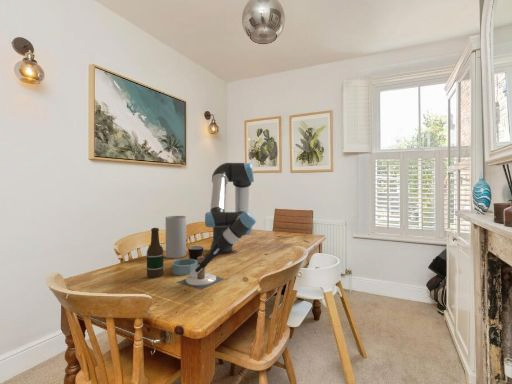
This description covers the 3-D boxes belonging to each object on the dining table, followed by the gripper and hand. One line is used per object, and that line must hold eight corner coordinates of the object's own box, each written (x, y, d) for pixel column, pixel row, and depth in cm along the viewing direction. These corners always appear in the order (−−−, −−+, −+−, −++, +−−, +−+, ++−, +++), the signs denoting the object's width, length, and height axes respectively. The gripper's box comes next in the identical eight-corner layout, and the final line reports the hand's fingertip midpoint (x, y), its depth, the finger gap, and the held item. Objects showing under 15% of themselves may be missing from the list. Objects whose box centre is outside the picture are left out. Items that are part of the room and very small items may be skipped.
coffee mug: (200, 267, 149) (200, 249, 149) (185, 266, 151) (185, 249, 151) (208, 262, 161) (207, 245, 160) (194, 261, 162) (194, 244, 162)
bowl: (185, 266, 151) (185, 257, 151) (202, 270, 145) (202, 261, 145) (167, 272, 141) (167, 263, 140) (184, 277, 134) (184, 267, 134)
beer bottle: (146, 275, 137) (146, 227, 137) (162, 273, 140) (162, 226, 140) (147, 280, 130) (146, 229, 130) (164, 277, 133) (163, 228, 133)
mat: (200, 273, 140) (200, 272, 140) (225, 279, 131) (225, 278, 131) (176, 283, 126) (176, 282, 126) (201, 290, 118) (201, 289, 118)
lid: (200, 273, 138) (200, 252, 138) (222, 279, 131) (222, 256, 130) (179, 282, 126) (179, 258, 126) (201, 288, 119) (201, 263, 119)
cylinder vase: (174, 252, 182) (174, 215, 181) (190, 254, 177) (190, 216, 176) (161, 257, 170) (161, 217, 169) (177, 259, 165) (177, 218, 165)
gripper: (230, 250, 117) (193, 286, 118) (236, 240, 138) (204, 271, 139) (218, 237, 117) (181, 274, 118) (225, 229, 138) (194, 260, 139)
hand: (194, 272), depth 129 cm, fingers open, 8 cm apart
